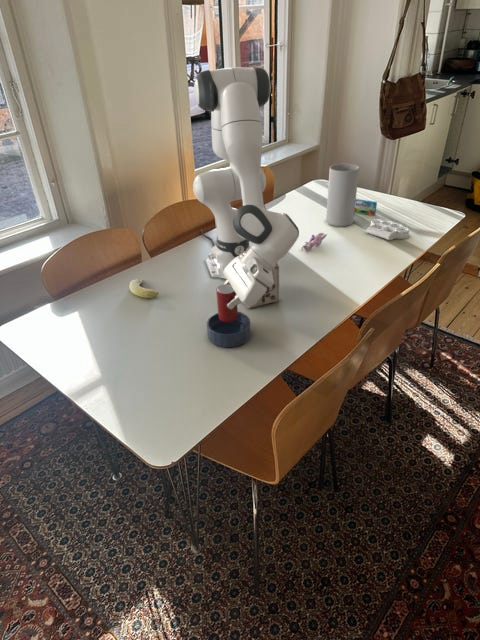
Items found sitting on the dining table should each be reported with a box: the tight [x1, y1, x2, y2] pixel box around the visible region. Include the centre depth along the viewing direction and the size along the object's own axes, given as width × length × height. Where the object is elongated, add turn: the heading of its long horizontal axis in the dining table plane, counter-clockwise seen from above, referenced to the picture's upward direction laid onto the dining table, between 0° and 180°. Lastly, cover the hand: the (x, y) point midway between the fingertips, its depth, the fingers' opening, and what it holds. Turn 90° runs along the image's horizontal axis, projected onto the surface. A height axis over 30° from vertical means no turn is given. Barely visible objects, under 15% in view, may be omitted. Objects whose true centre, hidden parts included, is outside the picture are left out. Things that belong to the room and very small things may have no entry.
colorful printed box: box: [354, 198, 378, 216], centre depth 220 cm, size 12×2×6 cm, turn 58°
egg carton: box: [365, 218, 410, 241], centre depth 200 cm, size 3×18×15 cm
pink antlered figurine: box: [301, 232, 328, 252], centre depth 191 cm, size 6×6×15 cm
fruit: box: [129, 278, 159, 299], centre depth 165 cm, size 7×15×3 cm, turn 33°
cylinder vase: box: [325, 163, 360, 227], centre depth 207 cm, size 12×12×25 cm
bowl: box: [206, 311, 252, 348], centre depth 140 cm, size 13×13×5 cm
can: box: [215, 284, 239, 322], centre depth 134 cm, size 6×6×10 cm
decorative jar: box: [240, 251, 280, 310], centre depth 154 cm, size 12×12×18 cm
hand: (225, 301), depth 134 cm, fingers closed on can, 6 cm apart
